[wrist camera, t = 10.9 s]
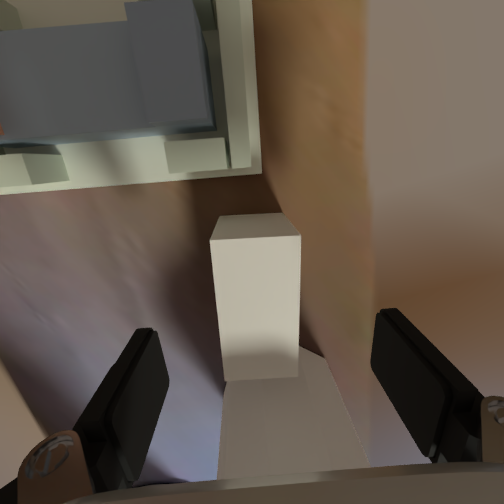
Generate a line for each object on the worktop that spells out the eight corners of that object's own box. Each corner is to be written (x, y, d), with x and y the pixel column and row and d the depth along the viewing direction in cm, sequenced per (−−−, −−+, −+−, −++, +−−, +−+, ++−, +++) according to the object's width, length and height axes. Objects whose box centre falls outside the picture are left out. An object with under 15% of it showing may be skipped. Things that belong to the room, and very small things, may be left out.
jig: (260, 172, 17) (266, 175, 13) (6, 193, 17) (-62, 202, 13) (249, -10, 14) (253, -74, 10) (-65, 14, 14) (-183, -43, 10)
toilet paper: (327, 425, 25) (397, 638, 14) (224, 427, 25) (210, 649, 14) (341, 342, 22) (447, 535, 11) (222, 344, 22) (200, 546, 10)
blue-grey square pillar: (217, 130, 15) (206, 117, 11) (15, 148, 15) (-79, 142, 11) (207, 49, 14) (191, -3, 9) (-14, 68, 14) (-136, 23, 9)
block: (283, 319, 21) (297, 376, 15) (229, 322, 21) (224, 381, 15) (282, 212, 18) (301, 235, 12) (219, 215, 18) (209, 240, 12)
